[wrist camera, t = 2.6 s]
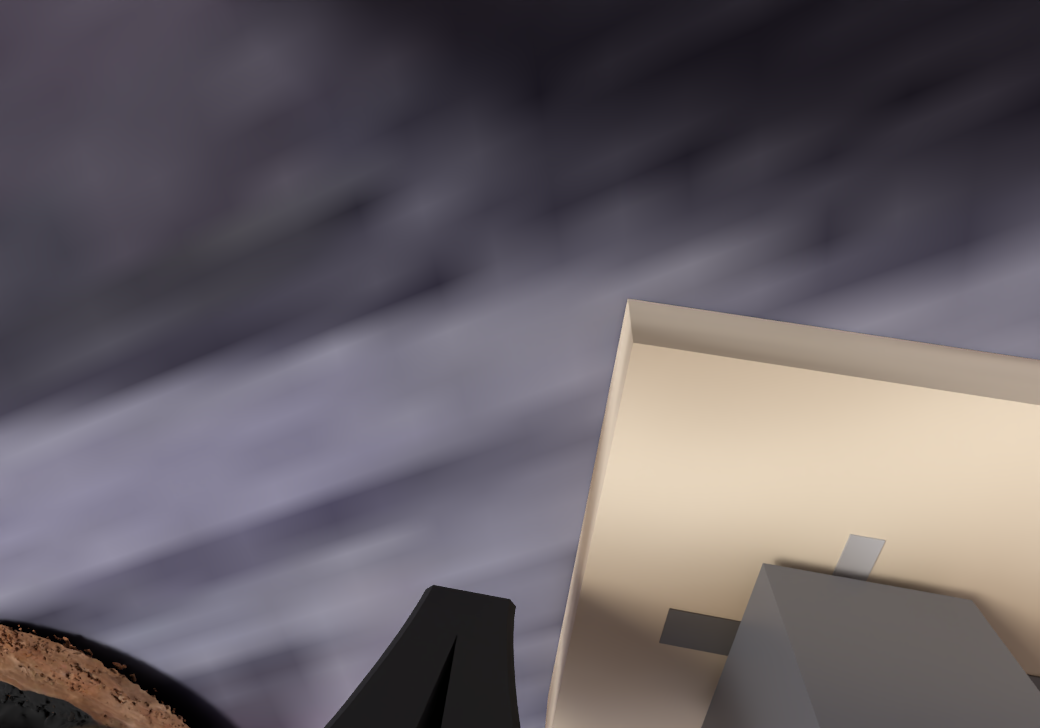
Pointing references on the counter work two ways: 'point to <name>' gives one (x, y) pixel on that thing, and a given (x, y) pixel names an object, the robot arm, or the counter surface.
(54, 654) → the skull
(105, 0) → the counter surface
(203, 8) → the counter surface
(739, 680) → the fader knob
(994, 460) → the slider board
